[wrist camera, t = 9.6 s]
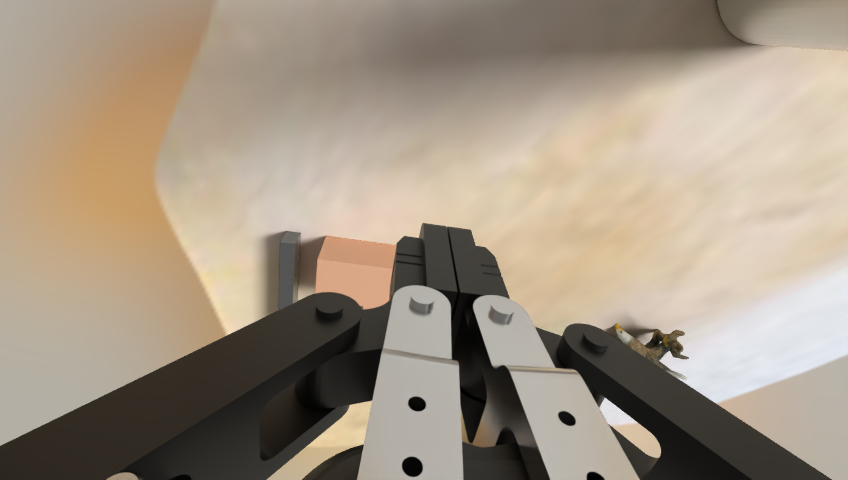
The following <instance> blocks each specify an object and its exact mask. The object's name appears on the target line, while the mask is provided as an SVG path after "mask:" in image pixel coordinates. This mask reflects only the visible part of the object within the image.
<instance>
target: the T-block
mask: <svg viewBox="0 0 848 480" xmlns="http://www.w3.org/2000/svg"><path fill="white" fill-rule="evenodd" d="M395 252H396V245H390V244H383V243H376V242H368V241H361V240H354V239H347V238H340V237H332V236H326V238H325V240H324V243H323V246H322V248H321V251H320V254H319V256H318V260H317V274H316V288H315V294H316V293H321V292H335V293H340V294H344V295H346V296H349V297H351V298H352V299H354V300H355V301H356V302H357V303H358V304H359V306H363V309H371V308H376V307H379V306H382V305H384V304H385V303H387V302H388V301H389V293H390V282H391V276H392V270H393V264H394V258H395Z"/></svg>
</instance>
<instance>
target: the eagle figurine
mask: <svg viewBox="0 0 848 480" xmlns="http://www.w3.org/2000/svg"><path fill="white" fill-rule="evenodd" d="M615 328H616V332H617V335H618V337H619V338H620V340H621V341H622V342H623V343H624V344H625V345H627V346H629V347H630V348H632V349H633V350H635V351H636V352H638V353H639V354H641V355H642V356H644V357H645V358H647V359H648V360H650V361H651V362H653V363H654V364H656V365H658V366H659V367H661V368H662V369H664V370H665V371H667V372H668V373H670V374H671V375H673V376H674V377H677V378H681V379H687V377H685V376H683V375H682V374H679V373H677V372H674V371H672V370H670V369H669V368H668V367H667V366H665V365H664V364H662V363H661V362H660V361H659V360H660V359H661V358H662V357H663V356H664V354H666V353H667V352H668V351H670V352H671V354H672V356H673V357H675V358H680V359H689V358H688V357H686V356H683V355H681V354H680V353H681V352H682V351H683V346H682V345H681V344H680V343H679V342H678V341H677V337H679V336H683V335H685V333H684V332H682V331H679V330H675V331H673V332H672V333H671V334H663V333H662V332H661V331H660V330H659V329H657V330H655V331H654V334H653V338H652V339H651V341H650V342H648V343H647V344H646V345H643V344H642V343H641V342H640V341H639V340H637V339H636V338H634V337H632V336H631V335H629V334H628V333H626V332H625V331H624V330H623V329H621V328H620V327H619V324H616V325H615ZM659 341H662V343H660V342H659ZM659 343H660V344H659Z"/></svg>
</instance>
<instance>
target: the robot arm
mask: <svg viewBox="0 0 848 480" xmlns="http://www.w3.org/2000/svg"><path fill="white" fill-rule="evenodd" d="M717 4H718V8H719V12H720V16H721V19H722V21H723V22H724V24H725V26H726V28H727V29H728V30H729V31H730V32H731V33H732V34H733V35H734V36H735V37H736V38H738V39H740V40H742V41H744V42H746V43H751V44H756V45H768V46H783V47H798V48H809V49H824V50H839V51H848V0H717ZM604 398H607V399H608V400H609V401H610V402H612V403H613V404H614V405H616V406H617V407H618V408H620V409H621V410H622V411H624V412H625V413H626V414H627V415H629V416H630V417H631V418H633V419H634V420H635V421H637V422H638V423H639V424H640V425H642V426H643V427H644V428H646V429H647V430H648V431H650V432H651V433H652V434H653V435H654V436H655V437H656V438H657V440H658V442H659V444H660V447H661V456H660V458H654V457H651V456H648V455H647V454H645V453H644V452H642V451H641V450H640V449H639V448H637V447H636V446H635V445H634V444H632V443H631V442H630V441H629V440H627V439H626V438H625V437H624V436H623V435H621V434H620V433H619V432H617V431H616V430H615V429H614V428H613V427H611V426H610V425H609V424H608V423H607V421H606V419H605V417H604V416H603V414H602V412H601V410H600V409H599V407H600V405H601V403H602V401H603V400H604ZM367 401H372V405H371V410H370V416H369V421H368V426H367V431H366V436H365V441H364V445H360V446H357V447H353V448H350V449H348V450H346V451H343V452H341V453H338V454H336V455H335V456H333V457H331V458H329V459H328V460H326V461H324V462H323V463H321V464H320V465H319V466H317V467H316V468H315V469H313V470H312V471H311V472H310V473H309V474H308V475H306V476H305V478H303V479H302V480H832V479H830V478H829V477H827V476H826V475H824V474H822V473H821V472H819V471H818V470H816V469H815V468H813V467H812V466H810V465H809V464H807V463H806V462H804V461H803V460H801V459H799V458H798V457H797V456H795V455H793V454H792V453H790V452H789V451H787V450H786V449H784V448H783V447H781V446H780V445H778V444H777V443H775V442H773V441H772V440H771V439H769V438H767V437H766V436H764V435H763V434H761V433H760V432H758V431H757V430H755V429H754V428H752V427H751V426H749V425H748V424H746V423H745V422H743V421H742V420H740V419H738V418H737V417H735V416H734V415H732V414H731V413H729V412H728V411H726V410H725V409H723V408H722V407H720V406H719V405H717V404H716V403H714V402H713V401H711V400H709V399H708V398H706V397H705V396H703V395H702V394H700V393H699V392H697V391H696V390H694V389H693V388H691V387H690V386H688V385H687V384H685V383H684V382H682V381H680V380H679V379H677V378H676V377H674V376H673V375H671V374H670V373H668V372H667V371H665V370H664V369H662V368H661V367H659V366H658V365H656V364H654V363H653V362H651V361H650V360H648V359H647V358H645V357H644V356H642V355H641V354H639V353H638V352H636V351H635V350H633V349H632V348H630V347H629V346H627V345H625V344H624V343H622V342H621V341H619V340H618V339H616V338H615V337H613V336H612V335H610V334H609V333H607V332H605V331H604V330H602V329H599V328H597V327H595V326H591V325H587V324H580V323H579V324H571V325H569V326H568V327H566V329H565V331H564V333H563V335H562V336H560V335H557V334H554V333H551V332H548V331H545V330H542V329H539V328H537V327H535V326H534V325H533V323H532V321H531V319H530V317H529V315H528V313H527V311H526V310H525V309H524V308H523V307H522V306H521V305H519V304H518V303H516V302H515V301H513V300H511V299H510V298H509V295H508V292H507V290H506V287H505V284H504V281H503V278H502V277H501V273H500V270H499V268H498V264H497V261H496V259H495V256H494V255H493V254H492V253H491V252H490V251H489V250H488V249H486V248H485V247H480V246H475V242H474V239H473V235H472V232H471V230H468V229H462V228H455V227H448V226H447V228H446V226H440V225H433V224H426V223H422V226H421V231H420V236H419V238H415V237H407V236H404V237H403V238H402V239H401V240H400V241H399V242H398V243H397V245H396V252H395V258H394V264H393V270H392V276H391V282H390V293H389V301H388V302H387V303H385V304H384V305H382V306H379V307H376V308H371V309H362V310H361V308H360V306H359V304H358V303H357V302H356V301H355V300H354V299H352V298H351V297H349V296H346V295H344V294H340V293H335V292H321V293H316V294H312V295H310V296H307V297H305V298H303V299H301V300H299V301H297V302H295V303H293V304H291V305H289V306H287V307H285V308H283V309H281V310H279V311H277V312H275V313H272V314H270V315H268V316H266V317H264V318H262V319H260V320H258V321H256V322H254V323H252V324H250V325H248V326H246V327H244V328H242V329H240V330H238V331H236V332H233V333H231V334H229V335H227V336H225V337H223V338H221V339H219V340H217V341H215V342H213V343H211V344H209V345H207V346H205V347H203V348H201V349H199V350H196V351H194V352H193V353H190V354H188V355H187V356H184V357H182V358H180V359H178V360H176V361H174V362H172V363H170V364H168V365H166V366H164V367H162V368H159V369H158V370H156V371H153V372H152V373H149V374H147V375H145V376H143V377H141V378H139V379H137V380H135V381H133V382H131V383H129V384H127V385H125V386H123V387H120V388H118V389H116V390H114V391H112V392H110V393H108V394H106V395H104V396H102V397H100V398H98V399H96V400H94V401H92V402H90V403H88V404H86V405H83V406H81V407H79V408H77V409H75V410H73V411H71V412H69V413H67V414H65V415H63V416H61V417H59V418H57V419H55V420H53V421H51V422H49V423H47V424H44V425H42V426H40V427H39V428H36V429H34V430H32V431H30V432H28V433H26V434H24V435H22V436H20V437H18V438H16V439H14V440H12V441H10V442H7V443H5V444H3V445H1V446H0V480H266V479H267V478H269V477H270V476H271V475H272V474H274V473H275V472H276V471H277V470H278V469H280V468H281V467H282V466H283V465H284V464H286V463H287V462H288V461H289V460H290V459H292V458H293V457H294V456H295V455H296V454H298V453H299V452H300V451H301V450H302V449H304V448H305V447H306V446H307V445H309V444H310V443H311V442H312V441H313V440H315V439H316V438H317V437H318V436H319V435H321V434H322V433H323V432H324V431H325V430H327V429H328V428H329V427H330V426H332V425H333V424H334V423H335V422H336V421H338V420H339V419H340V418H341V417H342V416H343V415H344V414H345V413H346V412H347V410H348V408H349V405H351V404H356V403H361V402H367Z"/></svg>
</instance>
